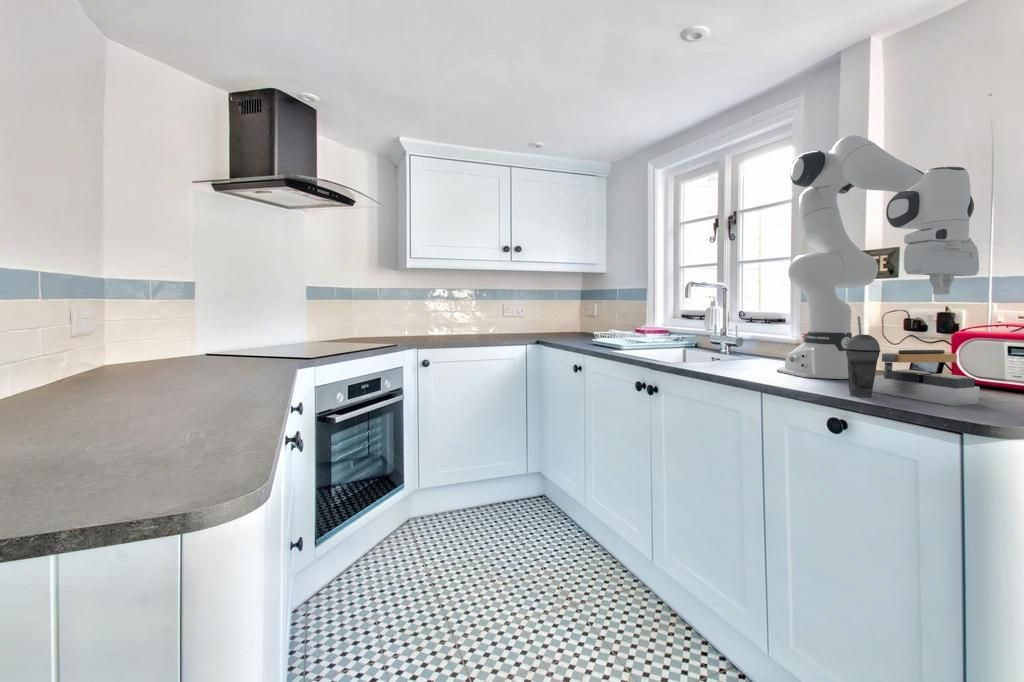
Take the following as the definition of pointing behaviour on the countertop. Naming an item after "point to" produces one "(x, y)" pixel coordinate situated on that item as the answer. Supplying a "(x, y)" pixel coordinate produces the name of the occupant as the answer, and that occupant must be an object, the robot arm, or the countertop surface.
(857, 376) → the beverage cup
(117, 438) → the countertop surface
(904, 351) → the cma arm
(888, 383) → the stacked block stand
